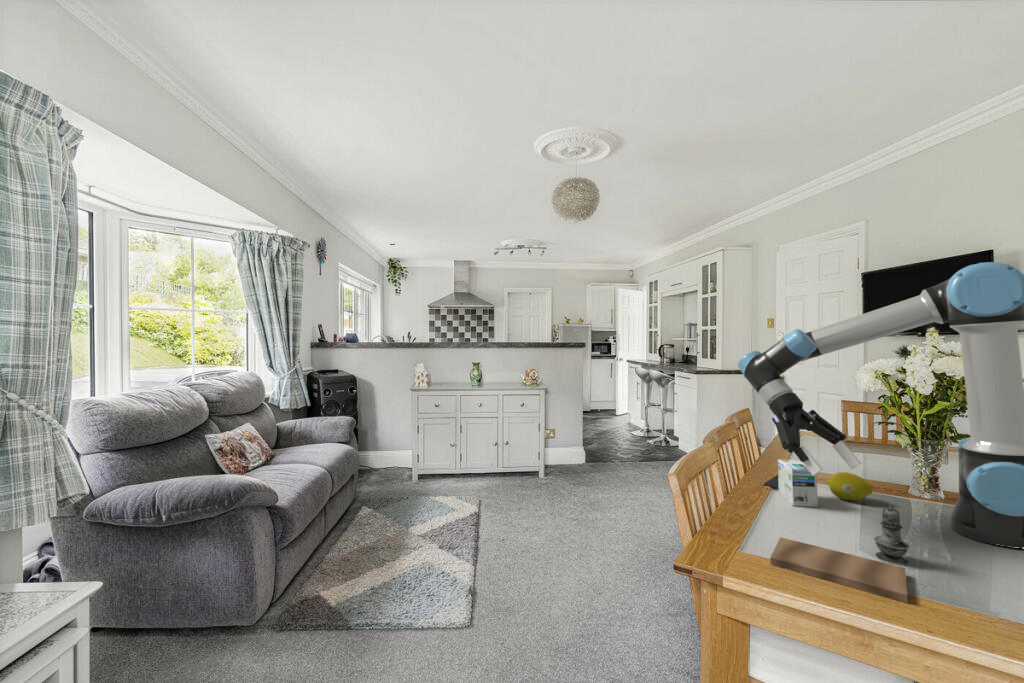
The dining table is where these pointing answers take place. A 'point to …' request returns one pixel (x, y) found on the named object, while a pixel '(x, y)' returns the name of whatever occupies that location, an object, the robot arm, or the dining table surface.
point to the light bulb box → (797, 483)
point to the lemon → (849, 486)
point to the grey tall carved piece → (891, 538)
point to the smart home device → (773, 483)
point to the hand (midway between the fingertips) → (837, 469)
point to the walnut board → (842, 568)
